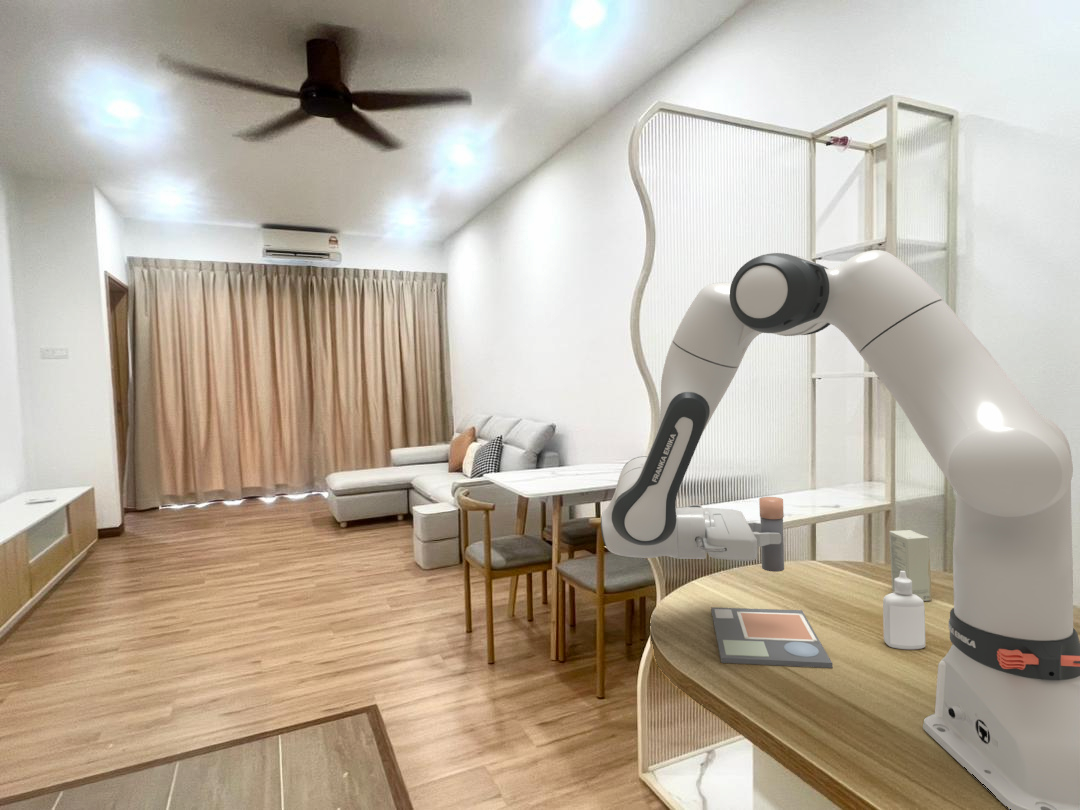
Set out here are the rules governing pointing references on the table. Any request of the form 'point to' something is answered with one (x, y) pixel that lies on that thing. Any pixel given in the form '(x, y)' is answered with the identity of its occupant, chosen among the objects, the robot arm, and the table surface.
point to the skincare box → (911, 560)
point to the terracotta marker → (772, 522)
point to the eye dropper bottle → (903, 616)
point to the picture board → (767, 638)
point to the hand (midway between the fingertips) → (777, 533)
